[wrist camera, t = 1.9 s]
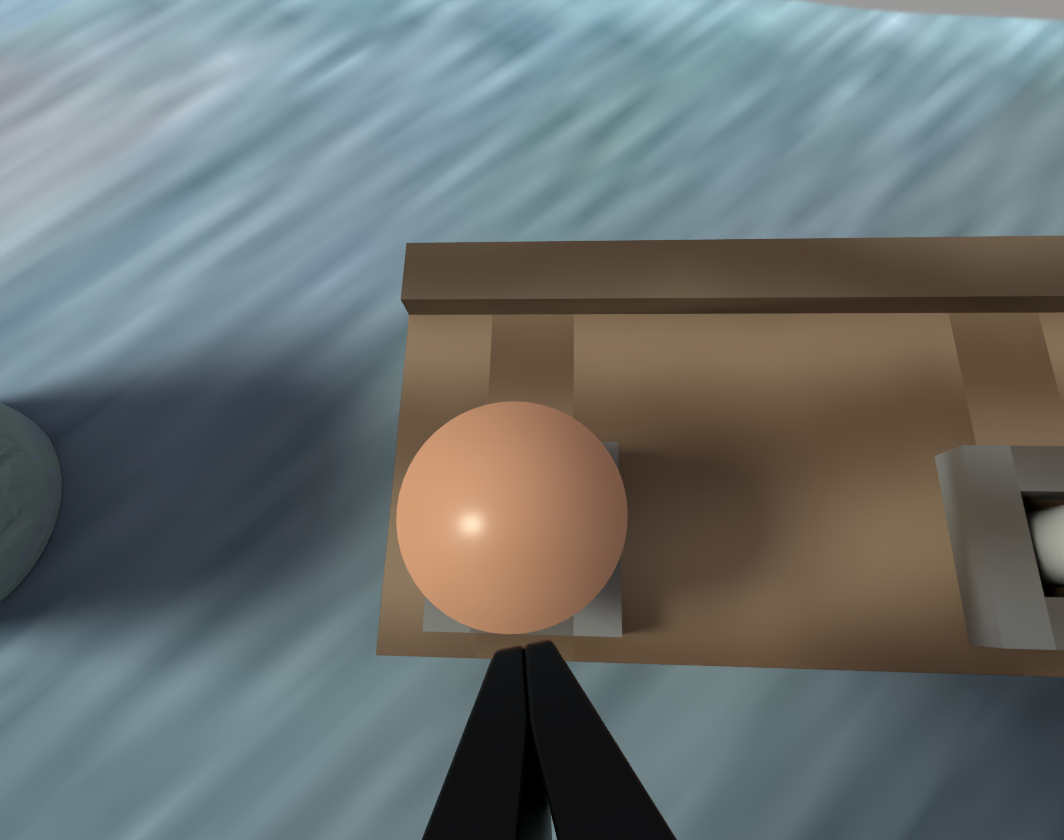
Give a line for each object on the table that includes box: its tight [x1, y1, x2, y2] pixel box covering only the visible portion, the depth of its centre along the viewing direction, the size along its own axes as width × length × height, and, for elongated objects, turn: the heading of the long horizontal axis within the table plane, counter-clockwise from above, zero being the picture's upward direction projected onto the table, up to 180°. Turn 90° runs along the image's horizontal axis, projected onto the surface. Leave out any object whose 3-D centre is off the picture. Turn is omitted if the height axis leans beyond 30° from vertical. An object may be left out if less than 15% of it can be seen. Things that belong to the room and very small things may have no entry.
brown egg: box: [396, 401, 628, 634], centre depth 14 cm, size 5×5×6 cm
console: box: [376, 236, 1064, 677], centre depth 18 cm, size 12×22×5 cm, turn 89°
